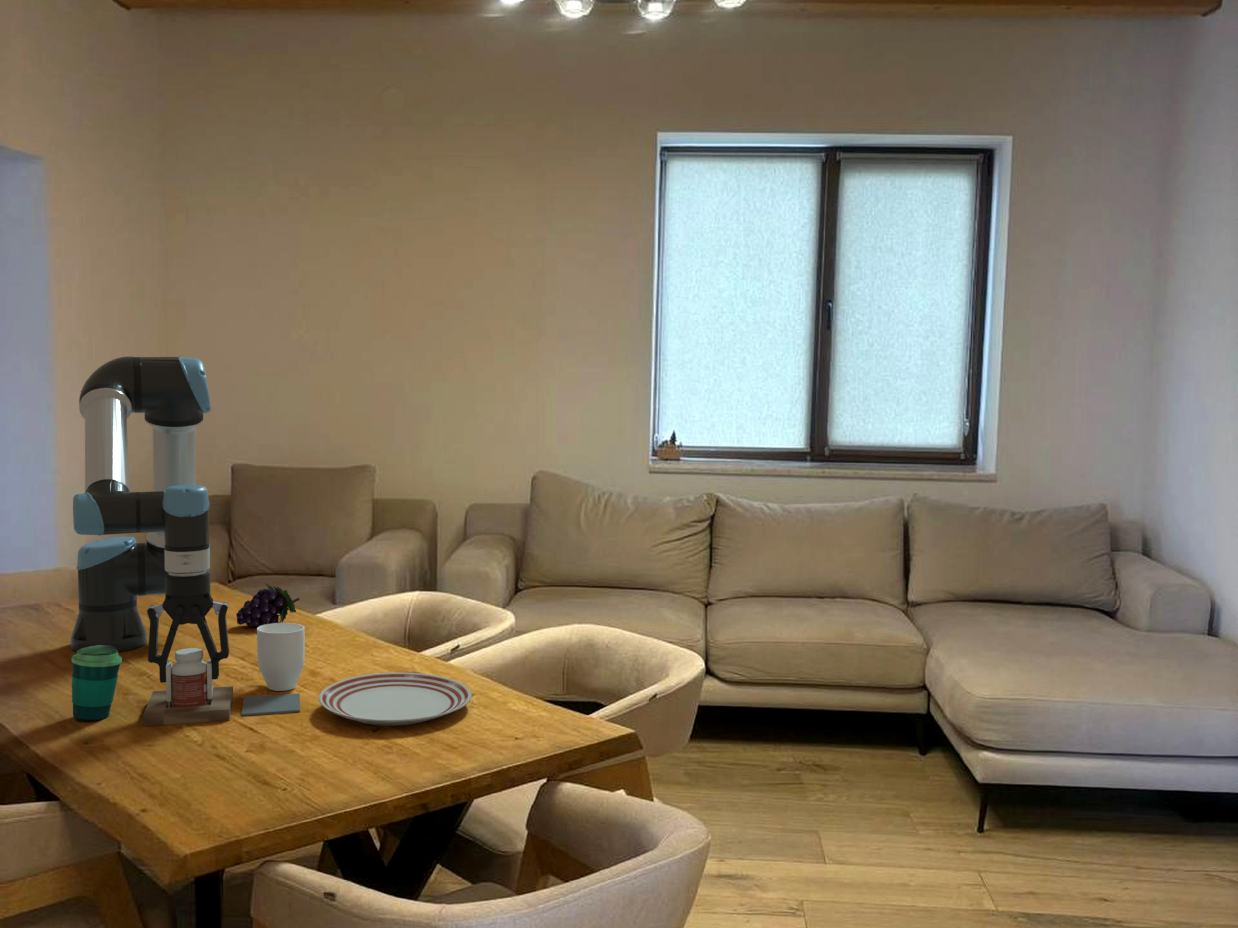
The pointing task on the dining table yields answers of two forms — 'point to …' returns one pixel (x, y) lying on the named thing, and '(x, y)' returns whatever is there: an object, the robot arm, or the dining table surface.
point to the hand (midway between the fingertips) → (190, 697)
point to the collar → (188, 709)
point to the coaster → (271, 704)
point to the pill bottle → (189, 679)
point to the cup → (94, 682)
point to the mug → (281, 654)
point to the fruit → (266, 607)
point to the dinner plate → (394, 698)
